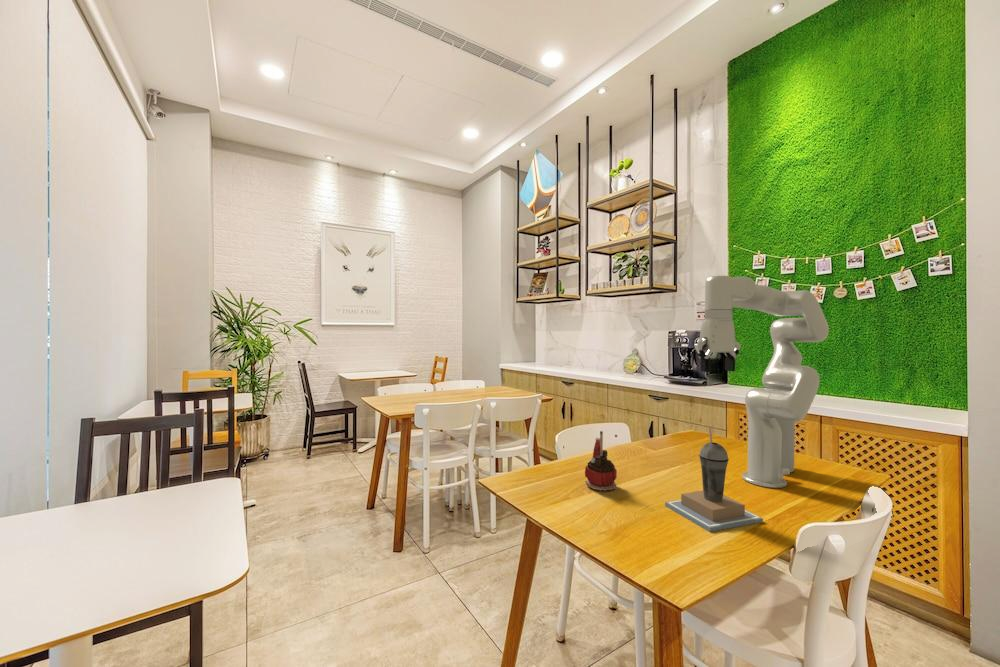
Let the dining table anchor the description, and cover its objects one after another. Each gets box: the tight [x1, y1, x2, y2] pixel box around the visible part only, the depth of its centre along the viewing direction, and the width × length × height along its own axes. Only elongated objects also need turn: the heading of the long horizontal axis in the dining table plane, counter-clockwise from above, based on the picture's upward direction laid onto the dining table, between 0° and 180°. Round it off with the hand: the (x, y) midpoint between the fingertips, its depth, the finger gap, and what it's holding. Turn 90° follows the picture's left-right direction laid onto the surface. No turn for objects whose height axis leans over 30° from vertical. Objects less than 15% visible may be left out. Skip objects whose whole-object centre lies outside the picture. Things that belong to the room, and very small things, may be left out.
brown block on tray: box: [664, 490, 764, 533], centre depth 112 cm, size 18×16×4 cm
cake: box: [584, 430, 618, 491], centre depth 131 cm, size 11×9×18 cm
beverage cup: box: [698, 426, 729, 502], centre depth 112 cm, size 7×7×20 cm
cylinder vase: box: [775, 418, 796, 473], centre depth 150 cm, size 12×12×25 cm
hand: (717, 371), depth 125 cm, fingers open, 9 cm apart
